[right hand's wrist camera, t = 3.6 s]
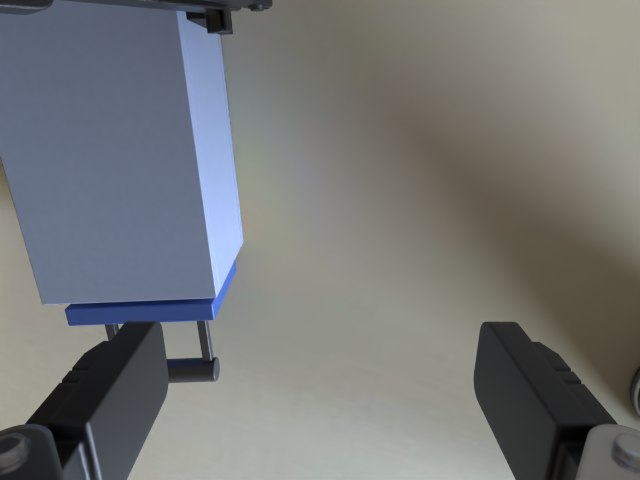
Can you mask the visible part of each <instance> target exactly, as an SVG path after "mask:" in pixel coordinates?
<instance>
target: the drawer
mask: <svg viewBox="0 0 640 480" xmlns="http://www.w3.org/2000/svg"><path fill="white" fill-rule="evenodd" d="M235 272H236V265H235V260H234V262H233V264H232V267H231V269H230V271H229V273H228V275H227V277H226V279H225V281H224V283H223V285H222V288H221V290H220V292H219V294H218V296H217V298H199V299H175V300H150V301H126V302H101V303H76V304H70V305H69V306H68V307H67V308H66V309H65V312H66V316H67V320H68V324H69V326H77V325H102V324H105V327H106V332H107V336H108V340H109V341H111V340H112V339H113V337H114V336H115V335H116V333H117V332H118V331H119V327H118V324H124V323H125V322H127V321H158V322H178V321H197V325H198V331H199V338H200V344H201V350H202V357H203V358H185V359H166V360H167V367H168V377H169V380H168V383H181V382H208V381H217V380H218V377H219V360H218V358H217V357H213V352H212V345H211V338H210V331H209V325H208V320H214V319H215V317H216V315H217V312H218V310H219V308H220V306H221V303H222V301H223V299H224V297H225V294H226V292H227V290H228V288H229V285H230V283H231V281H232V279H233V276H234V274H235Z"/></svg>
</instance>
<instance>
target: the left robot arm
mask: <svg viewBox="0 0 640 480" xmlns="http://www.w3.org/2000/svg"><path fill="white" fill-rule="evenodd" d="M53 1H54V0H0V14H15V15H29V14H33V13H36V12H39V11H42V10H45V9H47V8H49V7H50V6H51V5H52V3H53ZM62 1H73V2H85V3H96V4H107V5H118V6H129V7H140V8H151V9H162V10H173V11H185V12H186V18H187V20H189V21H191V22H193V23H195V24H197V25H199V26H202V27H204V28H206V29H207V34H219V35H223V34H233V31H232V21H231V11H239V10H240V9H241V7H242V8H248V9H251V11H264V9H268V8H270V7H271V6H272V0H62Z"/></svg>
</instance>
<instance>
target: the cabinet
mask: <svg viewBox="0 0 640 480" xmlns="http://www.w3.org/2000/svg"><path fill="white" fill-rule="evenodd" d="M0 157H1V161H2V164H3V168H4V171H5V175H6V178H7V182H8V185H9V189H10V192H11V196H12V199H13V203H14V206H15V210H16V213H17V217H18V221H19V224H20V228H21V231H22V235H23V238H24V242H25V245H26V249H27V252H28V256H29V259H30V263H31V266H32V270H33V273H34V277H35V280H36V284H37V287H38V291H39V294H40V298H41V301H42V304H43V305H52V304H76V303H101V302H126V301H150V300H175V299H199V298H217V296H218V294H219V292H220V290H221V288H222V285H223V283H224V281H225V279H226V277H227V275H228V273H229V271H230V269H231V267H232V264H233V262H234V260H235V258H236V256H237V254H238V252H239V250H240V248H241V245H242V243H243V235H242V226H241V217H240V208H239V199H238V190H237V181H236V172H235V163H234V154H233V145H232V136H231V127H230V118H229V109H228V100H227V91H226V82H225V73H224V64H223V55H222V46H221V37H220V35H219V34H207V29H206V28H204V27H202V26H199V25H197V24H195V23H193V22H191V21H189V20H187V18H186V12H185V11H173V10H162V9H151V8H140V7H129V6H118V5H107V4H96V3H85V2H73V1H62V0H54V1H53V3H52V5H51V6H50V7H49V8H47V9H45V10H42V11H39V12H36V13H33V14H29V15H15V14H0Z"/></svg>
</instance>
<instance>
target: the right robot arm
mask: <svg viewBox="0 0 640 480" xmlns="http://www.w3.org/2000/svg"><path fill="white" fill-rule="evenodd" d="M168 380H169V377H168V367H167V360H166V353H165V345H164V338H163V331H162V326H161V324H160V322H158V321H127V322H125V323H124V325H123V326H122V327H121V328H120V330H119V331H118V332H117V333H116V335H115V336H114V337H113V339H112V340H111V341H103V342H101V343H100V344H98V345H97V346H95V347H94V348H92V349H91V350H89V351H87V352H86V353H84V355H83V356H82V357H81V358H80V359H79V361H78V362H77V363H76V364H75V365H74V366H73V368H72V371H69V372H68V374H67V375H66V376H65V377H64V378H63V380H62V383H59V384H58V385H57V387H56V388H55V389H54V390H53V391H52V393H51V394H50V395H49V396H48V397H47V398H46V400H45V401H44V402H43V403H42V404H41V406H40V407H39V408H38V409H37V410H36V412H35V413H34V414H33V415H32V416H31V417H30V419H29V420H28V421H27V422H26V423H25V424H24V425H18V426H14V427H10V428H7V429H4V430H2V431H0V480H127V478H128V476H129V474H130V472H131V469H132V467H133V465H134V463H135V461H136V459H137V457H138V455H139V453H140V451H141V448H142V446H143V444H144V442H145V440H146V438H147V436H148V434H149V432H150V430H151V427H152V425H153V423H154V421H155V419H156V417H157V415H158V413H159V411H160V409H161V407H162V404H163V402H164V400H165V398H166V394H167V390H168ZM474 389H475V394H476V397H477V400H478V402H479V405H480V407H481V409H482V411H483V413H484V415H485V417H486V419H487V421H488V423H489V425H490V427H491V429H492V431H493V434H494V436H495V438H496V440H497V442H498V444H499V446H500V448H501V450H502V452H503V454H504V456H505V458H506V460H507V463H508V465H509V467H510V469H511V471H512V473H513V475H514V477H515V479H516V480H640V431H638V430H636V429H633V428H630V427H626V426H622V425H618V424H617V423H616V421H615V420H614V419H613V418H612V417H611V416H610V414H609V413H608V412H607V411H606V410H605V409H604V407H603V406H602V405H601V404H600V403H599V401H598V400H597V399H596V398H595V397H594V396H593V394H592V393H591V392H590V391H589V390H588V389H587V387H586V386H585V385H584V384H581V380H580V379H579V378H578V377H577V376H576V374H575V373H574V372H571V369H570V367H569V366H568V365H567V364H566V363H565V362H564V360H563V359H562V358H561V357H560V356H559V354H557V353H556V352H554V351H552V350H551V349H549V348H548V347H546V346H545V345H543V344H542V343H540V342H532V341H531V340H530V338H529V337H528V336H527V335H526V333H525V332H524V331H523V330H522V328H521V327H520V326H519V325H518V323H516V322H484V323H483V324H482V326H481V329H480V334H479V342H478V349H477V356H476V363H475V370H474ZM631 400H632V404H633V407H634V409H635V411H636V412H637V414H638V415H639V416H640V370H639V372H638V373H637V375H636V377H635V379H634V382H633V384H632V389H631Z"/></svg>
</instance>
